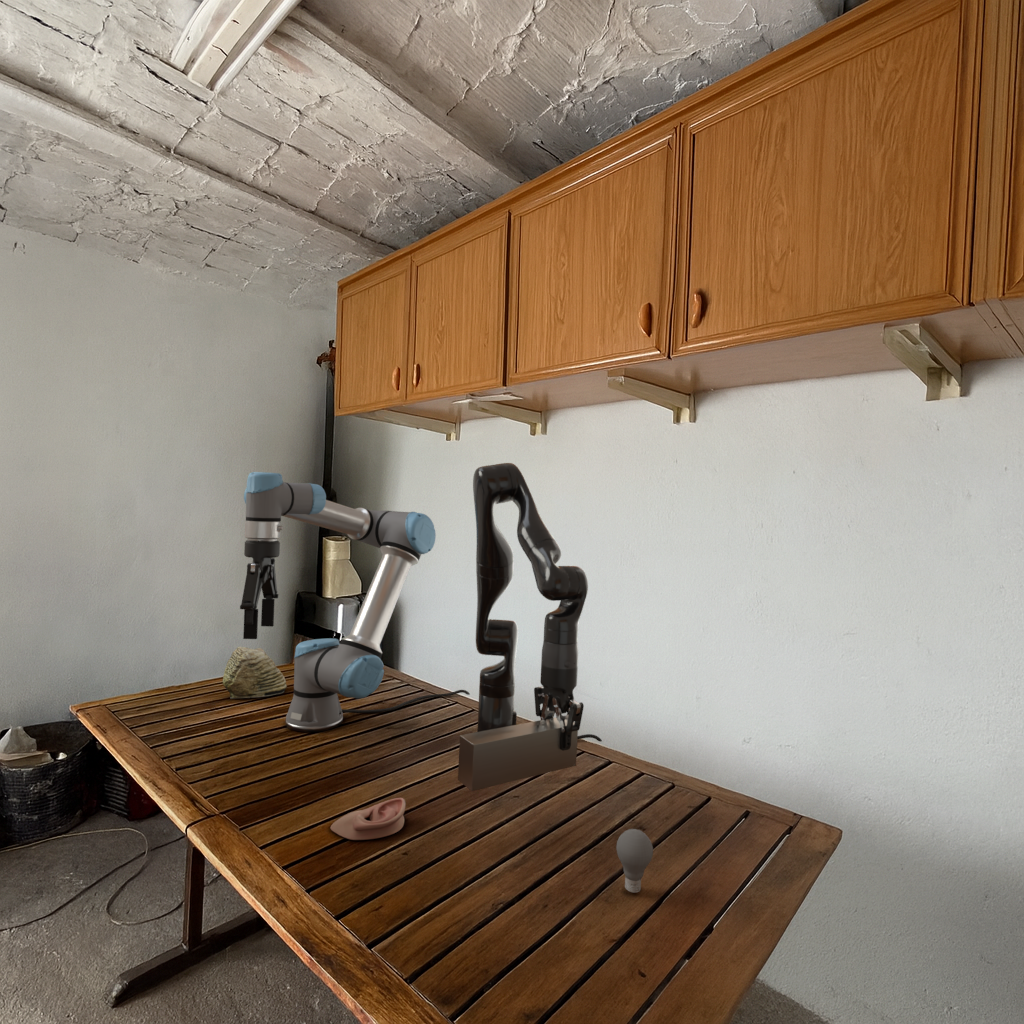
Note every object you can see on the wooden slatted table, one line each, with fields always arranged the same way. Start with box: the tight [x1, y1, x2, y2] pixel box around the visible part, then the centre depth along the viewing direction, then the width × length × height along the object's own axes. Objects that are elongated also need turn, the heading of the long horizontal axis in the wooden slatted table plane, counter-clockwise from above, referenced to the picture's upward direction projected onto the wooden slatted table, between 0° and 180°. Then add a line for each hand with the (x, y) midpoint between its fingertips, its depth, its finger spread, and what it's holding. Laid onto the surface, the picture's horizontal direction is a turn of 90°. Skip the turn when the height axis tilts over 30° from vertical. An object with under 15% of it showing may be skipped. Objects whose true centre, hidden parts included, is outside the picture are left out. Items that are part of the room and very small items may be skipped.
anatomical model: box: [330, 797, 407, 841], centre depth 123 cm, size 13×4×12 cm
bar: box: [457, 717, 579, 792], centre depth 125 cm, size 25×5×9 cm, turn 124°
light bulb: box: [615, 828, 654, 894], centre depth 106 cm, size 6×6×10 cm
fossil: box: [222, 646, 288, 699], centre depth 198 cm, size 9×18×15 cm, turn 132°
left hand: (259, 632), depth 145 cm, fingers open, 13 cm apart
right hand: (555, 744), depth 130 cm, fingers closed on bar, 5 cm apart
